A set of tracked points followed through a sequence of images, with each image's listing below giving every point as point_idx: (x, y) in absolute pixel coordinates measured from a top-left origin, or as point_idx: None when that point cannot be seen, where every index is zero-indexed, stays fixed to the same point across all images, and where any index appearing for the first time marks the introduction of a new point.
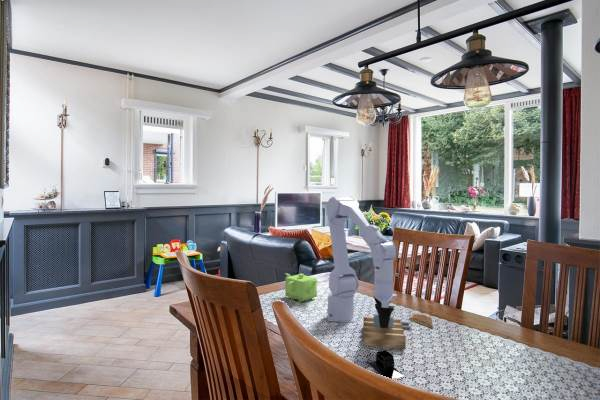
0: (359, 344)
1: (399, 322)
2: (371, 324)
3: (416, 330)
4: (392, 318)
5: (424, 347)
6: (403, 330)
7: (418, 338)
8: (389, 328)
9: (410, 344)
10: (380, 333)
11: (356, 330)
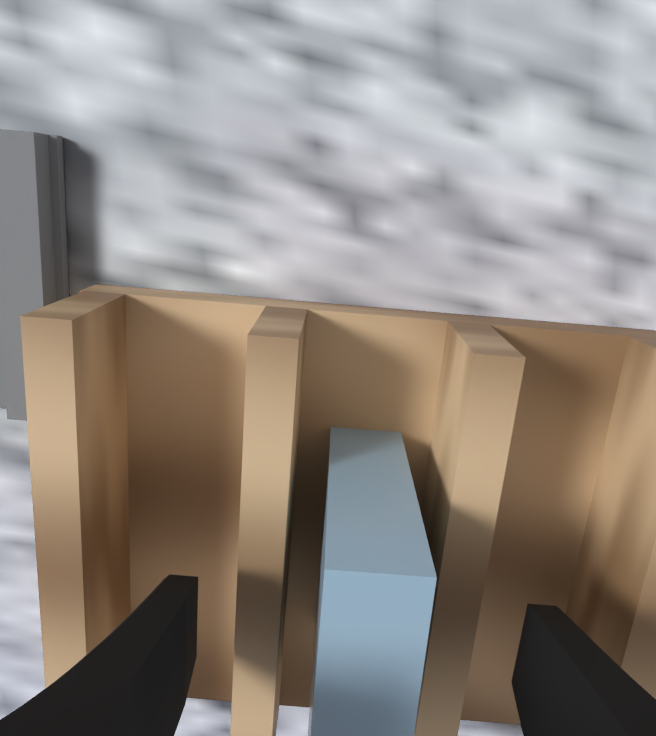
0: (519, 729)
1: (89, 325)
2: (275, 706)
3: (38, 43)
4: (434, 581)
5: (603, 77)
6: (524, 361)
7: (322, 87)
8: (467, 545)
9: (514, 240)
10: (642, 674)
11: (183, 726)
